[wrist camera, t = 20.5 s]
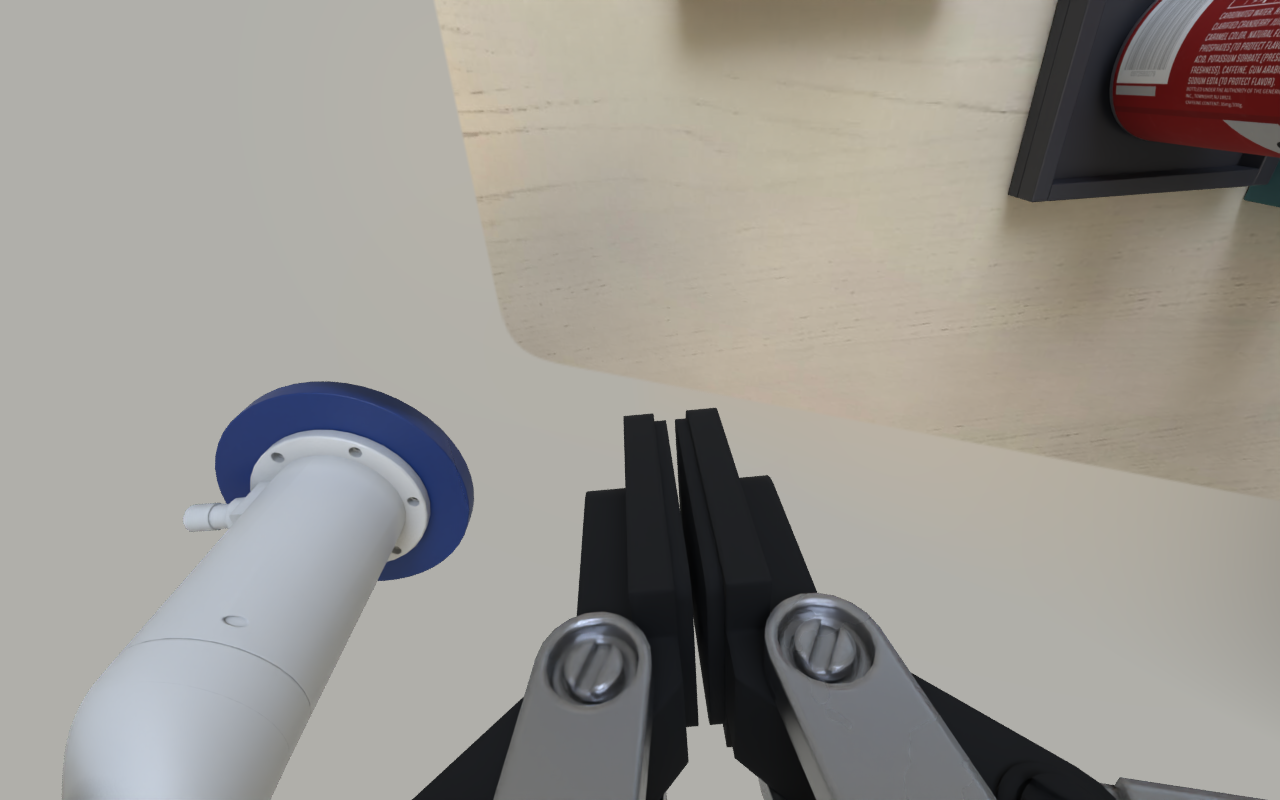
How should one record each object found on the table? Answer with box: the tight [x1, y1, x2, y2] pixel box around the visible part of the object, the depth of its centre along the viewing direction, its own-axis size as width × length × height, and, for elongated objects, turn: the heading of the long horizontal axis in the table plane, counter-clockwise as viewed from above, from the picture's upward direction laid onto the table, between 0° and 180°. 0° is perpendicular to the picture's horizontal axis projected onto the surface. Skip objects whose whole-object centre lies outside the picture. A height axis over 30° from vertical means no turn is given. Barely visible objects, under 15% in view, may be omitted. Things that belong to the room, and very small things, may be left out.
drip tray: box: [1008, 0, 1280, 202], centre depth 25 cm, size 12×12×2 cm
